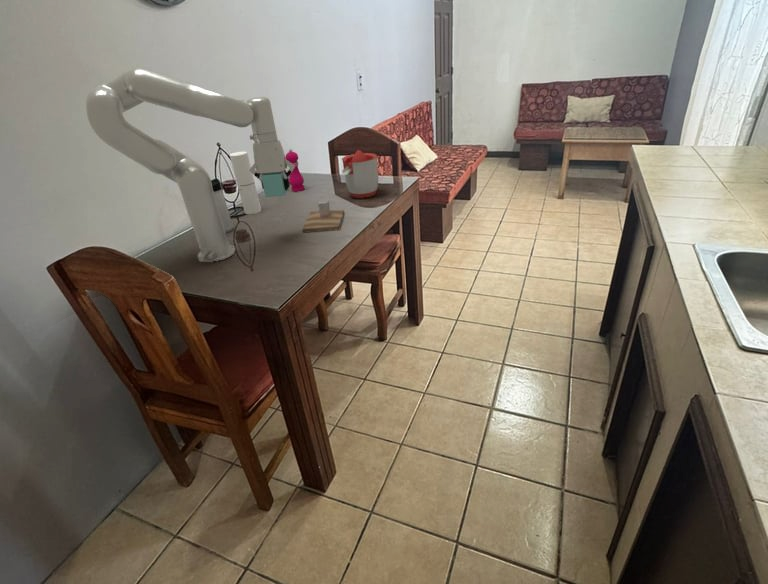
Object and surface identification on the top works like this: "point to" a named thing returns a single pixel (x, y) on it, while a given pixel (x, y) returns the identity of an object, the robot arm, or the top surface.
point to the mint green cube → (273, 184)
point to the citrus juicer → (361, 174)
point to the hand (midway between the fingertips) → (276, 189)
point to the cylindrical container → (245, 182)
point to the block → (324, 208)
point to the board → (323, 221)
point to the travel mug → (222, 205)
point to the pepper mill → (295, 172)
